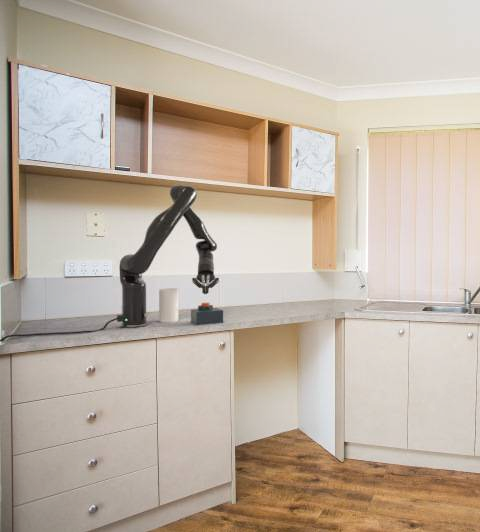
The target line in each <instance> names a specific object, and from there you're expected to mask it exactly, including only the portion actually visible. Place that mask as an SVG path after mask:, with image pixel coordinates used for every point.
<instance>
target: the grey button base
mask: <svg viewBox="0 0 480 532" xmlns="http://www.w3.org/2000/svg"><path fill="white" fill-rule="evenodd" d="M190 323H192V324H194V325H196V326H203V325H214V324H224V309H221V308H218V307H214V305H213V304H210V306H201V304H200V305H198V306H197V308H194V309H190Z"/></svg>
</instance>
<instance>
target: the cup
mask: <svg viewBox="0 0 480 532" xmlns="http://www.w3.org/2000/svg"><path fill="white" fill-rule="evenodd" d="M178 321H179V288H159V289H158V322H159V323H175V322H178Z"/></svg>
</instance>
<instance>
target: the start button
mask: <svg viewBox="0 0 480 532" xmlns="http://www.w3.org/2000/svg"><path fill="white" fill-rule="evenodd" d="M200 305H201V306H210V305H211V304H210V302H201V304H200Z"/></svg>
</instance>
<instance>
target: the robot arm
mask: <svg viewBox="0 0 480 532" xmlns="http://www.w3.org/2000/svg"><path fill="white" fill-rule="evenodd" d="M169 196H170V199H171V200H172V202H173V203H172V205H171V206H170V207H168V208H166V209H165V210H163V211H162V212H160V213H159V214H158V215H156V216H155V218H154V219H153V220H152V221H151V223H150V224H149V225H148V227H147V229H146V232H145V236H144V239H143V243H142V244H141V246H140V247H139V249H138V250H137V251H136V252H135V253H134V254H130V253H129V254H126V255H124V256H122V258H121V259H120V260H119V282H120V285H121V314H116V318H113V319H110V320H108V321H107V322H106V323H105V324H104V326H103V327H102V328H99V329H95V330H80V331H79V330H78V331H61V332H60V331H59V332H38V333H27V334H8V335H6V336H4V337H2V338H1V339H0V342H3V341H4V340H6V339H8V338H12V337H31V336H32V337H34V336H47V335H48V336H51V335H53V336H54V335H70V334H72V335H73V334H84V333H85V334H86V333H95V332H99V331H103V330H105V329H106V328H107V326H108V325H109V324H110V323H112V322H114V321H116V322H117V323H121V327H122V329H125V328H127V329H128V328H140V327H146V326H147V317H148V313H147V282H145V281H144V279H143V274H144V273H146V272H147V271H148V270H149V269H150V267H151V265H152V263H153V261H154V259H155V258H156V255H157V254H158V252H159V250H160V249H161V248H162V247H163V245H164V243H165V242H166V241H167V239H168V238H169V236H170V235H171V234H172V232H173V231H174V229H175V227H176V226H177V225H178V223H179V222H180V220H181V219H182V217H183V218H184V219H185V222H187V224H188V227H189V229H190V231H191V233H192V235H193V237H194V238H195V239H196V240H198V241H197V242H196V244H195V249H196V252H197V254H198V263H197V275H196V277H192V278H191V282H192V283H193V284H194V285H195V286H196V287H197V288H199V289H202V290H201V293H202V294H203V295H208V294H209V291H210V290H209V289H212V288H214V287H215V286H216V285H217V284H219V282H220V278H219V277H216V276H215V264H214V253H213V252H215V251H217V249H218V243H217V242H216V240H215V239H214V238H213V236H211V234H210V233H209V232H208V229H207V228H206V226H205V223H204V221H203V220H202V219H201V217H200V216H199V215H198V214H197V213H196V212H195V211H194V210H193V208H192V206H193V204H194V203H195V202H196V200H197V197H198V192H197V189H195V187H193V186H190V185H181V184H175V185H173V186H172V187H171V188H170V190H169ZM199 240H200V241H199Z"/></svg>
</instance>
